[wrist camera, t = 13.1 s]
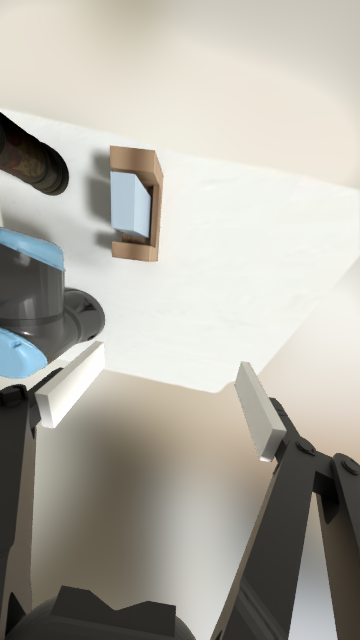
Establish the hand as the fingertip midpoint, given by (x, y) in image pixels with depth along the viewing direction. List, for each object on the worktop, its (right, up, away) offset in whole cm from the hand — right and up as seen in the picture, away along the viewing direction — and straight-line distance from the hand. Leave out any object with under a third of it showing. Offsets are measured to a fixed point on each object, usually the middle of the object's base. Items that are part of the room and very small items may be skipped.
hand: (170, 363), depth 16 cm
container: (-29, +38, +23) cm, 52 cm away
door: (-8, +28, +23) cm, 37 cm away
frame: (-8, +28, +24) cm, 38 cm away
